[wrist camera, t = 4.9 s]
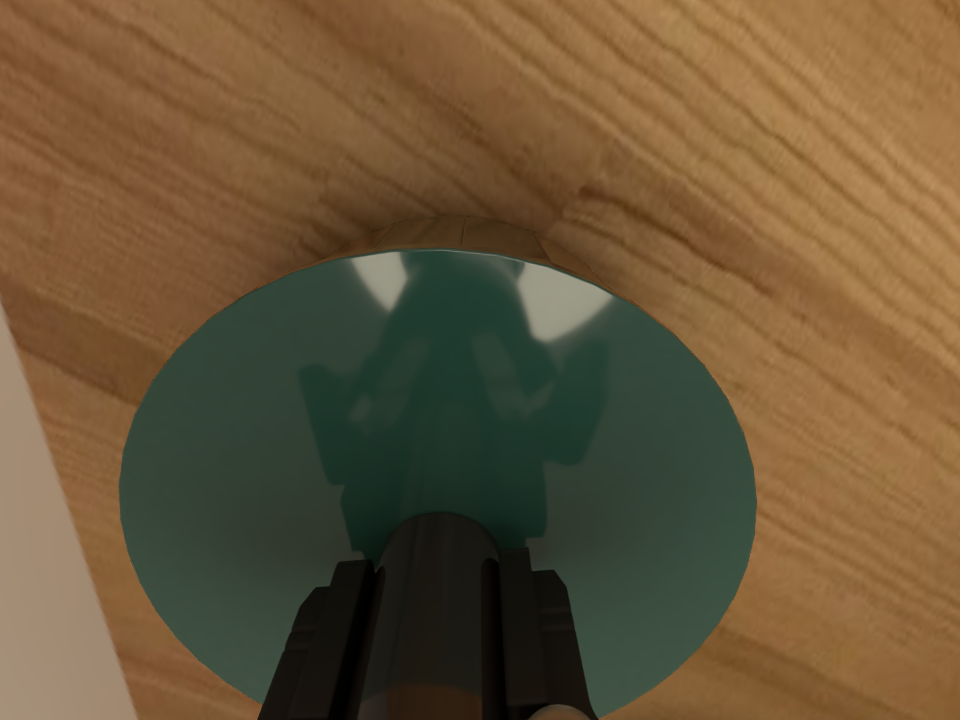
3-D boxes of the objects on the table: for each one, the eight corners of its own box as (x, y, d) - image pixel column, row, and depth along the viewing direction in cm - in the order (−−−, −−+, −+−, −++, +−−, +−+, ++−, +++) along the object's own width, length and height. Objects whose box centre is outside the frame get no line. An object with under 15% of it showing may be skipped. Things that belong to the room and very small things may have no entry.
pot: (316, 554, 23) (250, 727, 17) (225, 236, 18) (66, 298, 11) (633, 530, 23) (701, 698, 16) (644, 195, 17) (755, 233, 10)
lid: (241, 728, 17) (111, 1054, 11) (40, 273, 11) (-502, 442, 5) (709, 696, 17) (845, 1019, 10) (773, 202, 10) (1185, 292, 4)
